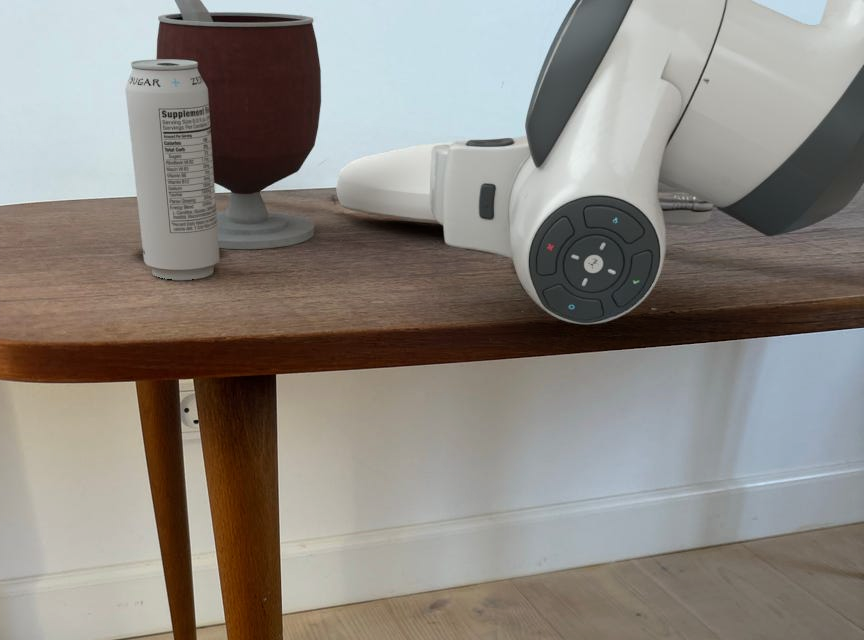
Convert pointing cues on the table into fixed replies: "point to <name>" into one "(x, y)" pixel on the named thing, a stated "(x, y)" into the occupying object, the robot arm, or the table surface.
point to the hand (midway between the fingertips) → (565, 162)
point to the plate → (389, 184)
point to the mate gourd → (252, 109)
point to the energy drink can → (173, 167)
